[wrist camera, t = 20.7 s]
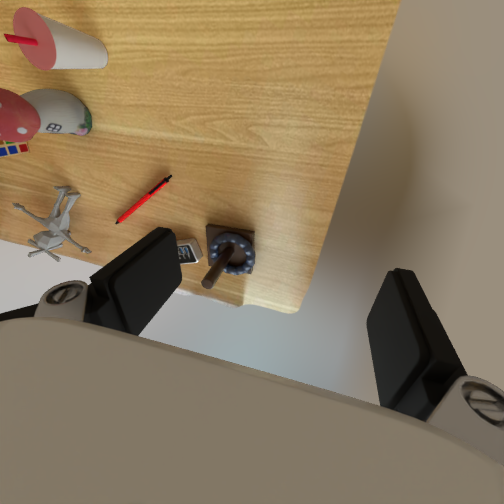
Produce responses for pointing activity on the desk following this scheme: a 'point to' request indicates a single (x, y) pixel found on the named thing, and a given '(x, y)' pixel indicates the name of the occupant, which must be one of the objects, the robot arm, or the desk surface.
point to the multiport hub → (188, 251)
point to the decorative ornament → (41, 114)
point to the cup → (55, 43)
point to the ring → (239, 241)
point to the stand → (225, 252)
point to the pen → (144, 199)
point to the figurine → (54, 225)
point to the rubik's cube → (12, 148)
